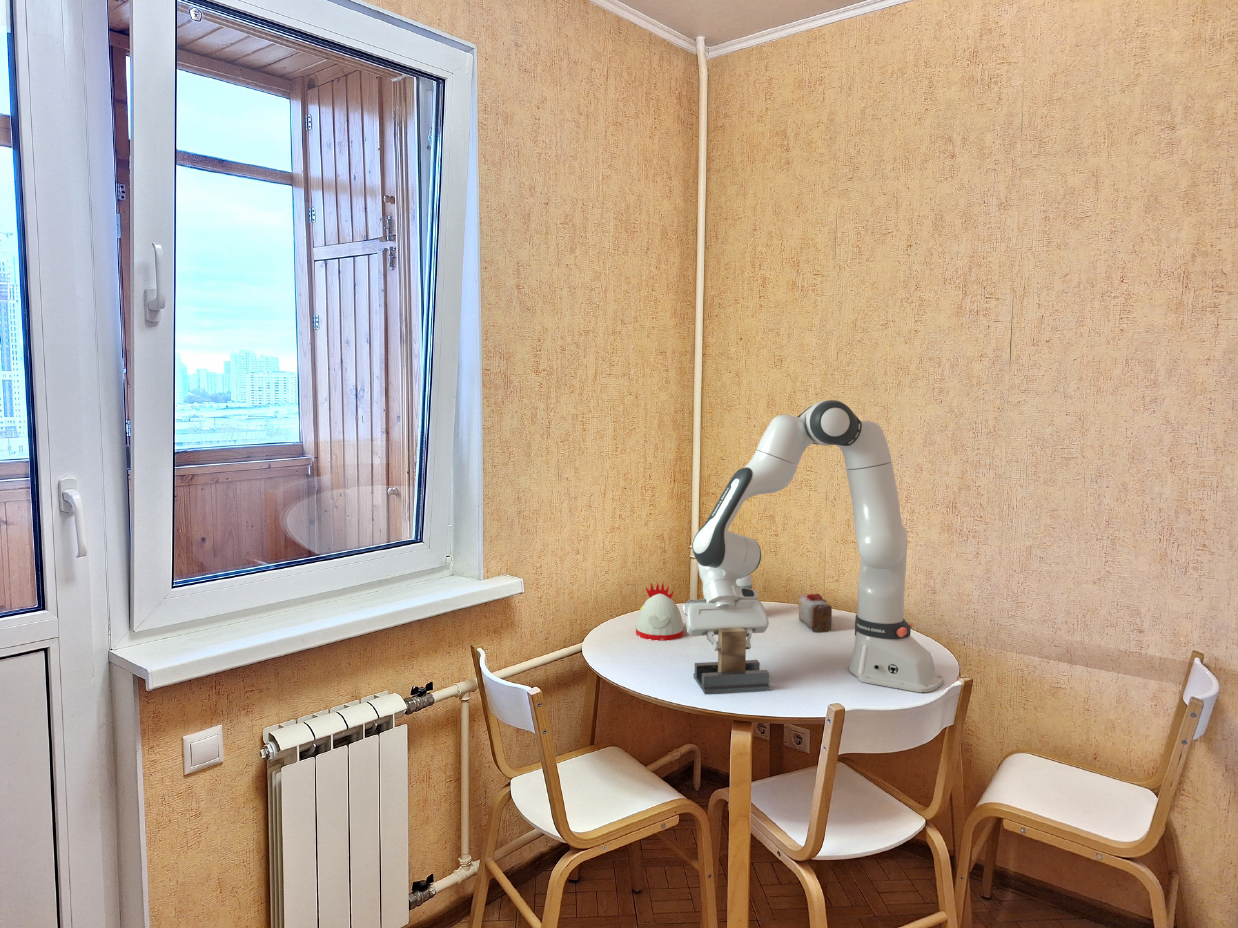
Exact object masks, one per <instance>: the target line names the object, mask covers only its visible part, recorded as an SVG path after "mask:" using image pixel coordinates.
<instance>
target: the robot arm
mask: <svg viewBox="0 0 1238 928" xmlns="http://www.w3.org/2000/svg"><path fill="white" fill-rule="evenodd" d="M811 445H820V446H825V447H827V446H837V447H838V449H840V451H841V453H842V456H843V458H844V464H845V469H846V476H847V481H848V487H849V491H850V492H849V493H850V497H851V502H852V504H851V505H852V513H853V523H854V529H855V538H856V544H857V551H858V554H859V556H860V563H859V564H860V565H859V577H858V587H857V614H855V621H854V636H855V641H854V647H853V652H852V656H851V659H850V663H849V665H848V670H849V672H850V673H851V674H853V675H854V676H855V677H857V679H858V681H860V682H862V683H867V684H871V685H877V686H878V685H879V686H883V687H889V688H893V689H898V688H899V690H904V691H910V692H917V693H922V692H924V693H930V692H933V691H935V690H938V687H939V688H940V687H941V686H942V685H943V684H944V681H945V679H944V675H943V673H940V672H937V671H935V663H934V659H933V658H934V657H933V656H932V654H931V652H930V651H928V649H926V648H925V647H924V646H923V645H921V643H919V642H918V641H917V640H916V639H915V638H914V637H913V636H912V635H911V632H912V630H911V629H913V627H914V626H913V625H914V623H913V622H912V623H911V622H910V623H908V622H907V621H906V619H905V618H904V613H905V610H904V608H905V589H906V588H905V587H906V569H907V555H908V553H907V552H908V533H907V529H906V527H905V526H904V524H902V516H901V510H900V509H901V508H900V502H899V493H898V487H897V483H896V478H895V476H896V475H895V471H894V466H893V462H892V456H891V451H890V447H889V445H888V442H887V438H886V436H885V434H884V431H883V429H882V427H881V426H880V424H878V423H877V422H874V421H870V420H869V421H868V420H861V419H859V417H858V416H857V415H856V414H855V413H854V411H853V410H852V409H851V407H849V406H848V405H847V404H845V403H844V402H842V401H840V400H835V399H834V400H833V399H830V400H828V399H827V400H826V399H825V400H821V401H818V402H815V403H814V404H812V405H810V406H809V407H808V408H806V409H805V410H803V411H802V412H801V413H800V414H798V416H795V415H791V414H780V415H776V416H775V417H774V418H772V420H771V421H770V422H769V424H768V426H767V427H766V429H765V430H764V432H763V434H762V436H761V438H760V440H759V442H758V443H757V447H756V450H755V452H754V454H753V456H752V457H751V459H750V461H748V463H747V464H746V465H745V466H744V467H742V468H739V469H738V470H736V471H735V473H734V474H733V475H732V477H731V478H730V480H729V481H728V483H727V484H726V486H725V488H724V489H723V492H722V493H721V495H720V496H719V498H718V500H717V502H716V503H715V505H714V507H713V509H712V511H711V512H710V514H709V515H708V518H707V519H706V521H705V522H704V524H703V525H702V526H701V528H700V529H699V530H698V531H697V532H696V534H695V535H694V538H693V540H692V552H693V556H694V558H695V559H696V561H697V570H698V574H699V578H700V580H701V582H702V594H703V595H702V596H703V598H700V599H688V600H687V601H685V602H684V603H683V605H682V610H683V614H684V615H685V616H686V617H685V619H686V632H687V634H688V635H689V636H690V637H698V636H701V637H702V636H706V640H707V641H708V642H709V643H710V644H711V645H712V647H713V648H712V649H713V651H714V652H718V651H720V649H721V645H720V641H718V640H716V638H715V637H714V636H718V628H739V627H743V628H744V629H745V630H746V650H751V648H752V645H751V639H752V635H753V634H764V633H765V632H766V630H767V629H768V627H769V625H770V622H769V618H768V614H767V611H766V609H765V606H764V604H763V603H762V602H761V601H760V600H758V598H759V593H758V590H755V589H753V588H752V589H748V588H744V587H741V586H738V585H737V584H736V580H737V579H740V578H743V577H745V576H747V575H749V574H751V575H752V573H754V572H755V571H756V570H757V569H758V567H759V566H760V564H761V561H762V549H761V546H760V543H759V542H757V540H756V539H753V538H751V537H748V536H746V535H742V534H738V533H735V532H732V531H729V529H730V527H731V524H732V523H733V521H734V519H736V516H737V514H738V512H739V510H740V509H741V507H742V505H743V504H744V503H745V502H746V501H747V500H748V499H750V498H752V497H754V496H757V495H764V494H774V493H777V492H779V491H782V490H784V489H785V488H787V487H788V486H789V485H790V484H791V482H792V481H793V479H794V476H795V474H796V472H797V469H798V467H799V465H800V461H801V458H802V456H803V454H804V452H806V449H808V447H809V446H811ZM942 683H943V684H942Z"/></svg>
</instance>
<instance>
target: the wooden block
mask: <svg viewBox="0 0 1238 928" xmlns="http://www.w3.org/2000/svg"><path fill="white" fill-rule="evenodd" d="M717 636H718V638H717V639H718V640H717V641H720V645H721V649H720V651H717V662H718V672H733V671H745V662H746V658H747V657H746V656H747V654H746V653H747V652H746V651H747V649H746V640H747V637H746V630H745V629H744V628H743V627H739V628H718V635H717Z"/></svg>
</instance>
